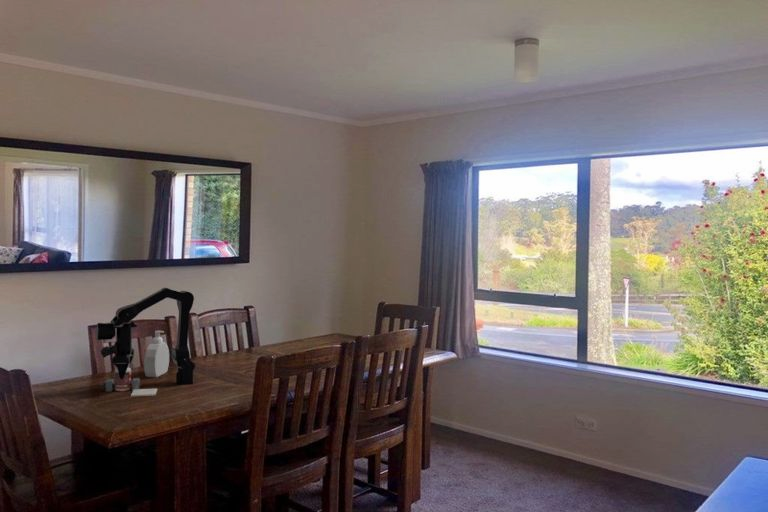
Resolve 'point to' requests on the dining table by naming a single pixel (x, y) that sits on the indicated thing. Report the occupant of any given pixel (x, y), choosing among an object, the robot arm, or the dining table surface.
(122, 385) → the pill bottle
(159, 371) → the soap bottle
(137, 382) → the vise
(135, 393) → the coaster
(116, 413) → the dining table surface
